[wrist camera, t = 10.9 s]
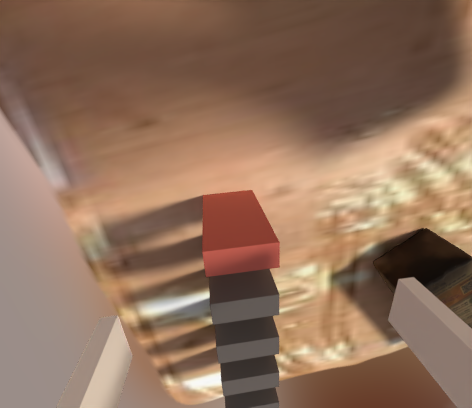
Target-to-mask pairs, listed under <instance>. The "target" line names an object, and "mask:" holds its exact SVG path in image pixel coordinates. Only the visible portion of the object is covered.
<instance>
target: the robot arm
mask: <svg viewBox="0 0 472 408" xmlns="http://www.w3.org/2000/svg"><path fill="white" fill-rule="evenodd" d="M388 321H389V322H390V324H391V325H392V326H393V327H394V329H395V330H396V331H397V332H398V334H399V335H400V336H401V337H402V339H403V340H404V341H405V343H406V344H407V345H408V346H409V348H410V349H411V350H412V351H413V353H414V354H415V355H416V356H417V358H418V359H419V360H420V361H421V363H422V364H423V365H424V366H425V368H426V369H427V370H428V371H429V373H430V374H431V375H432V377H433V378H434V379H435V380H436V382H437V383H438V384H439V385H440V386H441V388H442V389H443V390H444V392H445V393H446V394H447V395H448V397H449V398H450V399H451V400H452V402H453V403H454V404H455V405H456V407H457V408H472V329H471V328H470V327H469V326H468V325H467V324H466V323H465V322H464V321H462V320H461V319H460V318H459V317H458V316H457V315H456V314H455V313H453V312H452V311H451V310H450V309H449V308H448V307H447V306H446V305H444V304H443V303H442V302H441V301H440V300H439V299H438V298H437V297H435V296H434V295H433V294H432V293H431V292H430V291H429V290H428V289H426V288H425V287H424V286H423V285H422V284H421V283H420V282H419V281H417V280H416V279H415V278H414V277H411V278H403V279H398V283H397V287H396V291H395V295H394V299H393V302H392V306H391V310H390V314H389V318H388ZM131 360H132V353H131V350H130V347H129V345H128V342H127V339H126V337H125V334H124V331H123V328H122V325H121V323H120V320H119V317H118V315H116V316H108V317H101V318H100V319H99V321H98V323H97V325H96V327H95V329H94V331H93V333H92V335H91V337H90V339H89V341H88V343H87V345H86V347H85V350H84V351H83V353H82V356H81V358H80V360H79V362H78V364H77V366H76V368H75V370H74V372H73V374H72V376H71V378H70V380H69V382H68V384H67V387H66V388H65V390H64V393H63V394H62V396H61V399H60V401H59V403H58V405H57V407H56V408H118V404H119V401H120V398H121V394H122V391H123V387H124V384H125V381H126V377H127V374H128V370H129V367H130V363H131Z"/></svg>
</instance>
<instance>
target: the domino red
mask: <svg viewBox="0 0 472 408" xmlns="http://www.w3.org/2000/svg"><path fill="white" fill-rule="evenodd" d="M202 253H203V260H204V267H205V273H206V277H211V276H218V275H226V274H233V273H241V272H248V271H256V270H263V269H271V268H278V267H279V241H278V239H277V237H276V235H275V233H274V231H273V229H272V227H271V225H270V223H269V221H268V220H267V218H266V216H265V214H264V212H263V210H262V208H261V206H260V204H259V202H258V200H257V199H256V197H255V195H254V193H253V191H252V190H248V191H239V192H229V193H220V194H210V195H203V239H202Z"/></svg>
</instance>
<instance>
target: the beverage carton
mask: <svg viewBox="0 0 472 408" xmlns="http://www.w3.org/2000/svg"><path fill="white" fill-rule="evenodd" d="M373 263H374V266H375V267H376V269H377V270H378V272H379V274H380V275H381V277H382V278H383V279H384V281H385V282H386V284H387V285H388V287H389V288H390V289H391V290H392V292H393V293H394V294H395V291H396V287H397V283H398V279H403V278H411V277H414V278H415V279H416V280H417V281H419V282H420V283H421V284H422V285H423V286H424V287H425V288H426V289H428V290H429V291H430V292H431V293H432V294H433V295H434V296H435V297H437V298H438V299H439V300H440V301H441V302H442V303H443V304H444V305H446V306H447V307H448V308H449V309H450V310H451V311H452V312H453V313H455V314H456V315H457V316H458V317H459V318H460V319H461V320H462V321H464V322H465V323H466V324H467V325H468V326H469V327H470V328H471V329H472V257H471V256H470V255H468V254H467V253H465V252H464V251H462V250H461V249H459V248H458V247H456V246H455V245H453V244H451V243H450V242H448V241H447V240H445V239H443V238H441V237H440V236H438V235H437V234H436V233H434V232H432V231H430V230H429V229H427V228H426V229H424V230H422V231H421V232H419V233H417V234H416V235H414V236H413V237H412V238H410V239H409V240H407V241H405V242H404V243H402V244H401V245H399V246H397V247H395V248H394V249H392V250H391V251H390V252H388V253H386V254H384V255H383V256H382V257H380V258H378V259H376V260H375V261H374V262H373Z"/></svg>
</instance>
